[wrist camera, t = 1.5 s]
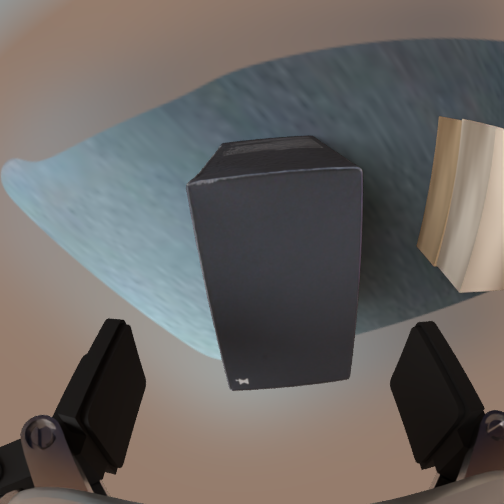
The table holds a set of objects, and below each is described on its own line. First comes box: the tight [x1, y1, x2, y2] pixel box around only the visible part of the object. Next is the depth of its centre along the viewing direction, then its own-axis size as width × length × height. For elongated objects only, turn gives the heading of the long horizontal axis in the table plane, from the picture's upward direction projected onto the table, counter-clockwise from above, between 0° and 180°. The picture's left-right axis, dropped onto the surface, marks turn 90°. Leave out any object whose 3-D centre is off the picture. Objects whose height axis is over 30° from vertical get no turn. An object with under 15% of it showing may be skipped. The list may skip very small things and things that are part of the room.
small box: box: [186, 136, 363, 391], centre depth 17 cm, size 11×6×10 cm, turn 7°
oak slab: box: [417, 116, 462, 266], centre depth 19 cm, size 10×10×4 cm
